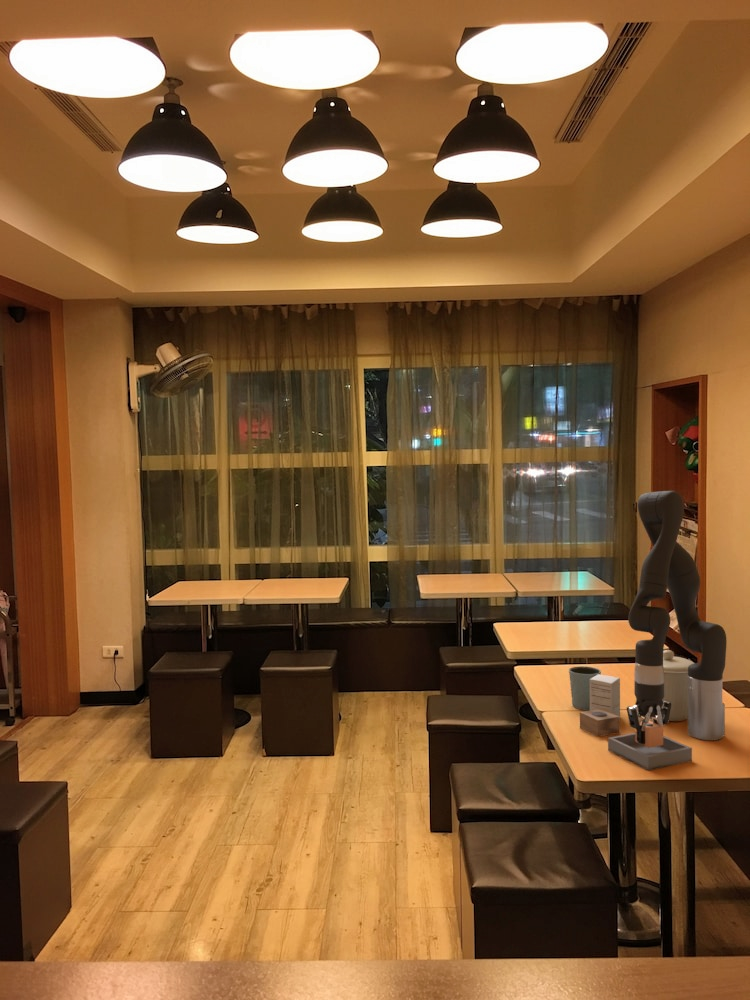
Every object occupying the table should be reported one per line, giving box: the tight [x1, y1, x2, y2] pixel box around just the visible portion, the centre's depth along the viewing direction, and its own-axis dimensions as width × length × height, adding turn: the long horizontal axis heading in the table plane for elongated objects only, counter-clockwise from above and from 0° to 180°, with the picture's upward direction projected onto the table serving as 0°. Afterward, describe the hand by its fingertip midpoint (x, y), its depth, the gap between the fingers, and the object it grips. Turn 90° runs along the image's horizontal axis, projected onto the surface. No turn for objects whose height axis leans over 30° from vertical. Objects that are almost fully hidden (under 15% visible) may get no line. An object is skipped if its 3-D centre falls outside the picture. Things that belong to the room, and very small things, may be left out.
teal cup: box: [568, 665, 602, 711], centre depth 234 cm, size 10×10×12 cm
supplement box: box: [589, 674, 621, 718], centre depth 222 cm, size 7×7×13 cm
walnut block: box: [579, 709, 620, 737], centre depth 211 cm, size 8×8×5 cm
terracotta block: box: [634, 720, 664, 748], centre depth 192 cm, size 5×5×5 cm
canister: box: [662, 649, 695, 722], centre depth 223 cm, size 18×18×21 cm
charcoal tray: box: [607, 732, 693, 772], centre depth 192 cm, size 15×15×4 cm
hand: (649, 741), depth 192 cm, fingers closed on terracotta block, 4 cm apart
